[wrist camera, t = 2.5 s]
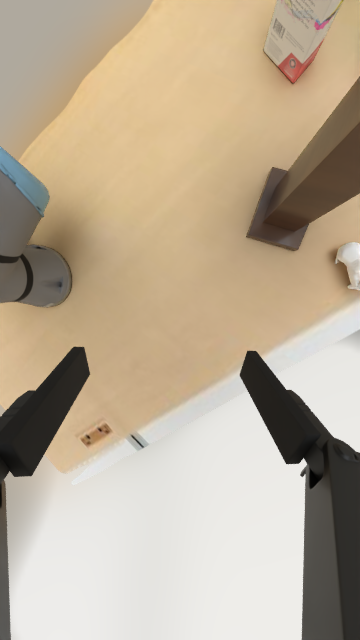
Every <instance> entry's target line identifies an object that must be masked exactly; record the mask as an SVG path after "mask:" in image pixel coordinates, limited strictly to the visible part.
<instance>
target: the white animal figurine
mask: <svg viewBox="0 0 360 640" xmlns="http://www.w3.org/2000/svg"><path fill="white" fill-rule="evenodd" d="M337 259H338V260H340V261H341V262H343V263H344V264H345V265H346V266H347V271H348V273H349V279H350V282H351V284H350V285H348V288H349V289H355V290H359V291H360V282H359V281H360V244H359V243H357V242H350V243H347V244H344V245H342V246H341V247H340V248H339V249H338V253H337V257H336V260H335V263H336V265H337ZM339 263H340V262H339Z"/></svg>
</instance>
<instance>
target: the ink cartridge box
mask: <svg viewBox="0 0 360 640" xmlns="http://www.w3.org/2000/svg"><path fill="white" fill-rule="evenodd" d="M342 2H343V0H277V1H276V5H275V9H274V12H273V16H272V20H271V23H270V27H269V31H268V34H267V38H266V42H265V45H264V52H265V53H266V54H267V55H268V56H269V57H270V58H271V60H272V61H273V62H274V63H275V64H276V65H277V66H278V67H279V68H280V69H281V71H282V72H283V73H284V74H285V75H286V76H287V77H288V78H289V79H290V81H291V82H293V83H294V82H295V81H296V80H297V79H298V78H299V76H300V75H301V74H302V73H303V72H304V70H305V69H306V68H307V67H308V66H309V65H310V63H311V62H312V61H313V60H314V58H315V56H316V54H317V52H318V50H319V48H320V46H321V44H322V42H323V40H324V38H325V36H326V34H327V32H328V30H329V28H330V26H331V24H332V22H333V20H334V18H335V16H336V14H337V12H338V10H339V8H340V6H341V4H342Z"/></svg>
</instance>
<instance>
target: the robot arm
mask: <svg viewBox="0 0 360 640" xmlns="http://www.w3.org/2000/svg"><path fill="white" fill-rule="evenodd" d="M48 202H49V193H48V190H47V188H46V187H45V186H44V184H43V183H42V182H40V181H39V180H38V179H37V178H36V177H35V176H34V175H33V174H31V173H30V172H29V171H28V170H27V169H26V168H25V167H24V166H22V165H21V164H20V163H19V162H18V161H16V160H15V159H14V158H13V157H12V156H11V155H10V154H9V153H7V152H6V151H5V150H4V149H3V148H2V147H0V303H5V302H20V303H25V304H29V305H34V306H38V307H50V306H56V305H58V304H60V303H62V302H63V301H64V300H65V299H66V298H67V296H68V295H69V293H70V290H71V286H72V276H71V271H70V268H69V266H68V264H67V262H66V261H65V259H64V258H63V257H62V256H61V255H60V254H59V253H58V252H56V251H55V250H53V249H51V248H48V247H45V246H40V245H27V243H28V241H29V239H30V238H31V236H32V234H33V232H34V230H35V228H36V226H37V225H38V223H39V221H40V219H41V217H44V210H45V208H46V206H47V204H48ZM89 375H90V372H89V367H88V363H87V358H86V353H85V349H84V347H73V348H72V349H71V350H70V352H69V353H68V354H67V355H66V356H65V357H64V359H63V360H62V361H61V362H60V363H59V364H58V365H57V367H56V368H55V369H54V370H53V371H52V372H51V374H50V375H49V376H48V377H47V378H46V379H45V380H44V382H43V383H42V384H41V385H40V386H39V387H38V389H37V390H36V391H27V392H26V393H24V394H23V395H22V396H20V397H19V398H17V399H16V401H15V402H14V403H13V404H12V405H11V406H10V407H9V409H7V410H6V411H5V412H4V413H3V415H2V416H1V417H0V640H11V634H10V605H9V578H8V577H9V576H8V547H7V517H6V488H5V482H4V478H5V477H6V476H7V474H8V473H9V471H10V472H11V473H12V474H13V476H14V477H19V476H32V475H33V473H34V471H35V469H36V468H37V466H38V464H39V462H40V460H41V459H42V457H43V455H44V454H45V452H46V450H47V448H48V447H49V445H50V443H51V441H52V440H53V438H54V436H55V434H56V433H57V431H58V429H59V427H60V426H61V424H62V422H63V420H64V419H65V417H66V415H67V413H68V412H69V410H70V408H71V406H72V405H73V403H74V401H75V399H76V398H77V396H78V394H79V392H80V391H81V389H82V387H83V385H84V384H85V382H86V380H87V378H88V377H89ZM240 377H241V379H242V381H243V383H244V384H245V386H246V388H247V390H248V392H249V394H250V396H251V398H252V400H253V402H254V404H255V405H256V407H257V409H258V411H259V413H260V415H261V417H262V419H263V421H264V423H265V424H266V426H267V428H268V430H269V432H270V434H271V436H272V438H273V439H274V442H275V444H276V445H277V447H278V449H279V451H280V453H281V455H282V457H283V459H284V461H285V462H286V464H299V463H300V462H301V460H302V459H303V458H304V459H305V461H306V462H307V466H306V467H305V468H304V469H303V470H302V472H301V474H300V475H301V476H302V477H303V476H304V474H306V483H305V528H304V569H303V613H302V640H360V453H358V452H356V451H355V450H353V449H352V448H351V447H350V446H349V445H348V444H346V443H345V442H343V441H341V440H339V439H336V438H334V437H333V436H332V435H331V434H330V433H329V432H328V430H327V429H326V428H325V427H324V425H323V424H322V423H321V422H320V421H319V419H318V418H317V417H316V416H315V415H314V414H313V412H311V410H310V409H309V407H308V406H307V405H305V403H304V402H303V400H302V399H301V398H300V397H299V396H298V395H297V394H296V393H294V392H293V391H292V390H286V389H285V387H284V386H283V385H282V384H281V382H280V381H279V380H278V378H276V376H275V375H274V373H273V372H272V371H271V370H270V368H269V367H268V366H267V364H266V363H265V362H264V361H263V359H262V358H261V357H260V355H259V354H258V353H257V352H256V351H247V354H246V357H245V360H244V363H243V366H242V369H241V373H240Z"/></svg>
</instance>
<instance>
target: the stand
mask: <svg viewBox="0 0 360 640" xmlns="http://www.w3.org/2000/svg"><path fill="white" fill-rule="evenodd" d="M359 193H360V77H359V78H358V80H357V81H356V82H355V84H354V85H353V86H352V88H351V89H350V90H349V91H348V93H347V94H346V95H345V97H344V98H343V99H342V101H341V102H340V103H339V105H338V106H337V107H336V109H335V110H334V111H333V112H332V114H331V115H330V116H329V118H328V119H327V120H326V122H325V123H324V124H323V126H322V127H321V128H320V130H319V131H318V132H317V133H316V135H315V136H314V137H313V139H312V140H311V141H310V143H309V144H308V145H307V147H306V148H305V149H304V150H303V152H302V153H301V154H300V156H299V157H298V158H297V160H296V161H295V162H294V164H293V165H292V166H291V168H290V169H289V170H288V171H285V170H282V169H278V168H274V167H272V169H271V170H270V172H269V174H268V177H267V180H266V183H265V186H264V188H263V191H262V194H261V197H260V200H259V202H258V205H257V208H256V211H255V214H254V216H253V219H252V222H251V225H250V227H249V230H248V233H247V236H246V237H249V238H252V239H256V240H259V241H263V242H266V243H269V244H273V245H276V246H280V247H283V248H286V249H290V250H293V251H295V250H297V249H299V246H300V244H301V242H302V239H303V237H304V235H305V232H306V230H307V227H308V225H309V223H311V222H312V221H314V220H316V219H317V218H319V217H321V216H322V215H324V214H326V213H327V212H329V211H331V210H332V209H334V208H336V207H338V206H339V205H341V204H343V203H344V202H346V201H348V200H349V199H351V198H353V197H354V196H356V195H358V194H359Z"/></svg>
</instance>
